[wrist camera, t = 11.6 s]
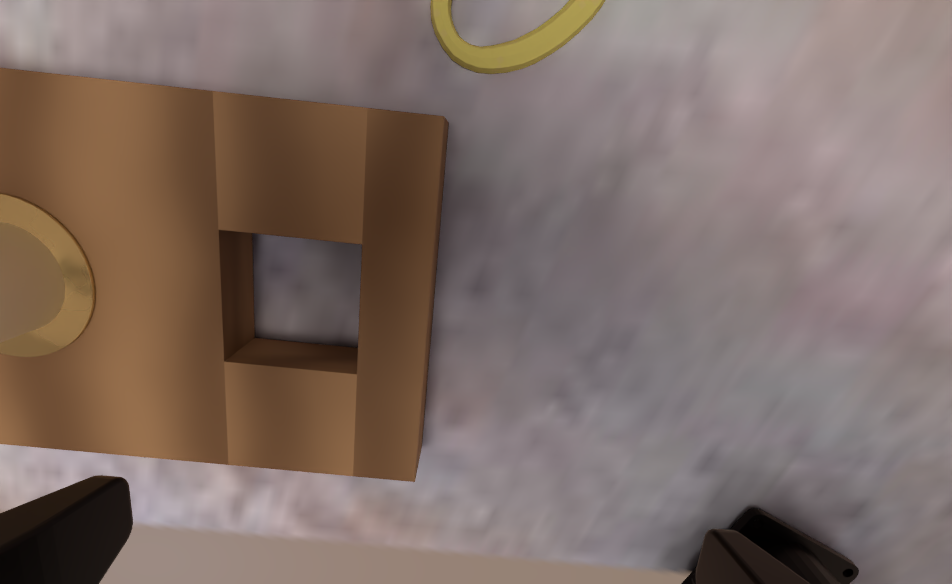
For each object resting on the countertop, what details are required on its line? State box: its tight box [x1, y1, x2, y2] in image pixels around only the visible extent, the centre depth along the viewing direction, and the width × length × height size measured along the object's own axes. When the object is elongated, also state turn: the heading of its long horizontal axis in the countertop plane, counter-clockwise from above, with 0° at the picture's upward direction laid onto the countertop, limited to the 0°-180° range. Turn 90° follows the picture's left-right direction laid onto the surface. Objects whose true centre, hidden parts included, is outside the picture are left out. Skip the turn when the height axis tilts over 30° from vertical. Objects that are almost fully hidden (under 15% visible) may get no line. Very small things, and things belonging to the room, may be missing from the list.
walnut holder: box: [0, 68, 449, 482], centre depth 18 cm, size 20×14×2 cm
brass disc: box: [0, 193, 96, 357], centre depth 17 cm, size 6×6×1 cm
